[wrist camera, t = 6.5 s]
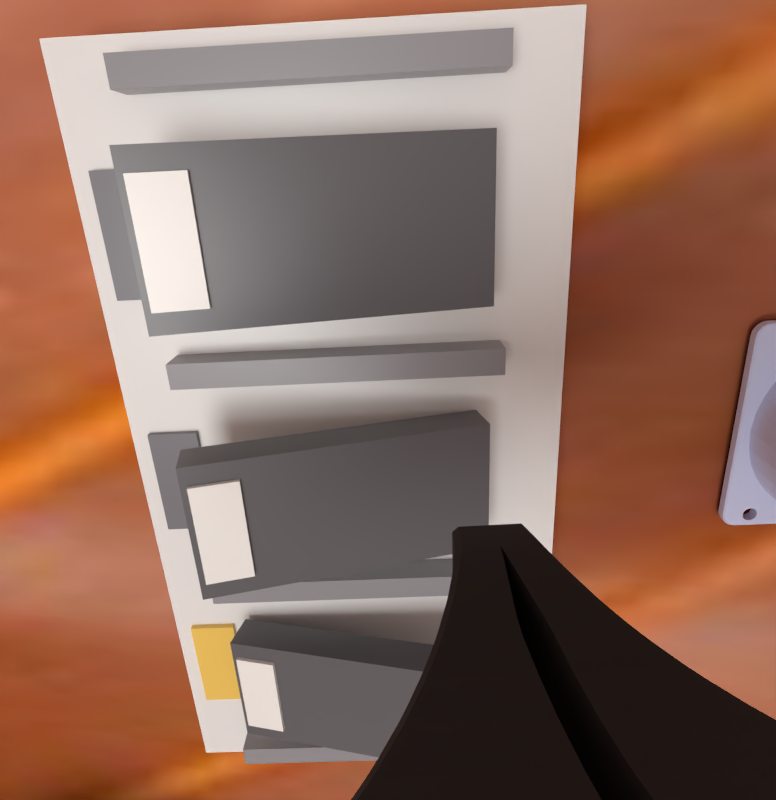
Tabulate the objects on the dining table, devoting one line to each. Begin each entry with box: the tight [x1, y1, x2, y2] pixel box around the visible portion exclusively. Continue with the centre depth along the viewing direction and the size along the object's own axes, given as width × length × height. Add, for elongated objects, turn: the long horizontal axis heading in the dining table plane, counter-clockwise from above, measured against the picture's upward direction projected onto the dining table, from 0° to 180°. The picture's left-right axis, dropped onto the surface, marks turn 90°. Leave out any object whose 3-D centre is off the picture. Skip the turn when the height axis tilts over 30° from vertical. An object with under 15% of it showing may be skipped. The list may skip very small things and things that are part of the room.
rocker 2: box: [230, 619, 433, 757], centre depth 20 cm, size 9×4×1 cm, turn 93°
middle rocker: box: [176, 410, 490, 600], centre depth 18 cm, size 9×4×1 cm, turn 93°
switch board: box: [39, 4, 586, 764], centre depth 20 cm, size 14×26×4 cm, turn 3°
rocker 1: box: [109, 128, 497, 337], centre depth 15 cm, size 9×4×1 cm, turn 93°
